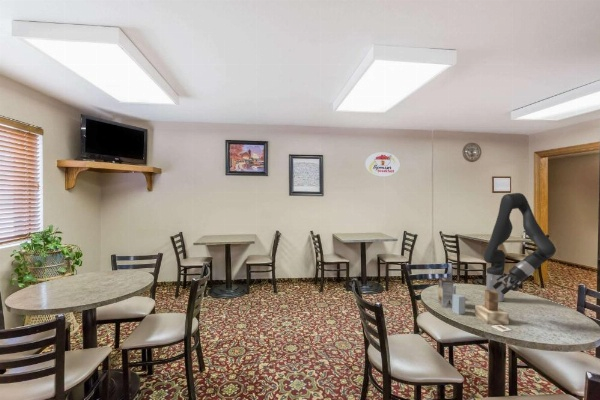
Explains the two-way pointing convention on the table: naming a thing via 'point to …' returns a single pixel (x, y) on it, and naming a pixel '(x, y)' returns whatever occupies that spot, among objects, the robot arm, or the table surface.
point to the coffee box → (445, 292)
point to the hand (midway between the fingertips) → (498, 290)
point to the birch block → (491, 315)
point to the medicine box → (454, 289)
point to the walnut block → (491, 300)
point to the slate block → (458, 304)
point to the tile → (501, 328)
